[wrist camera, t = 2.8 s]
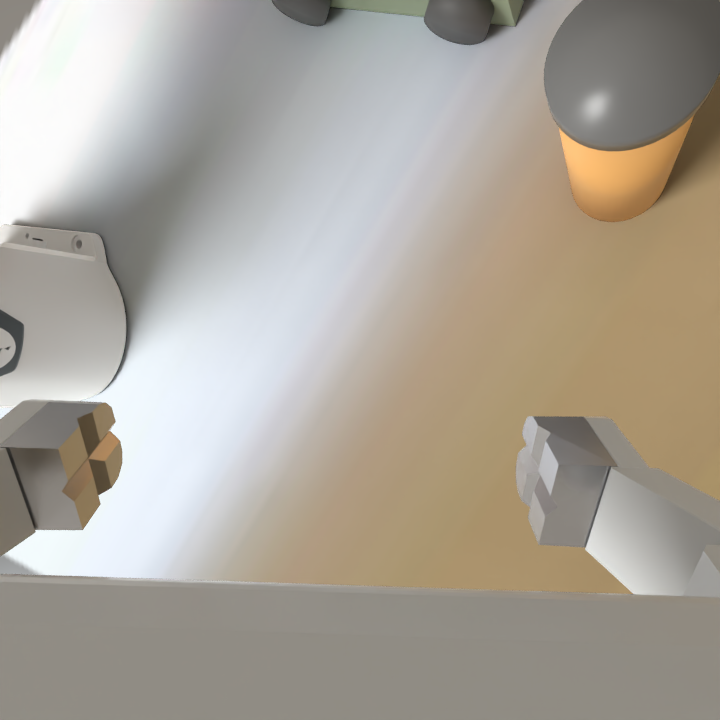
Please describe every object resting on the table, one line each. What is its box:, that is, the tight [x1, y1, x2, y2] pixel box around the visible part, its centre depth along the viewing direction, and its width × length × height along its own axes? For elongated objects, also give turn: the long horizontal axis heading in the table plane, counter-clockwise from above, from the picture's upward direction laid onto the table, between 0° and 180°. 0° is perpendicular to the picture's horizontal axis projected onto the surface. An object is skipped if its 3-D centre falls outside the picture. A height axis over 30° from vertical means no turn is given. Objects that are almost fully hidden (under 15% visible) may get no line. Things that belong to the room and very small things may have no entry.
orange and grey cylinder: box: [544, 0, 720, 222], centre depth 23 cm, size 5×5×14 cm
